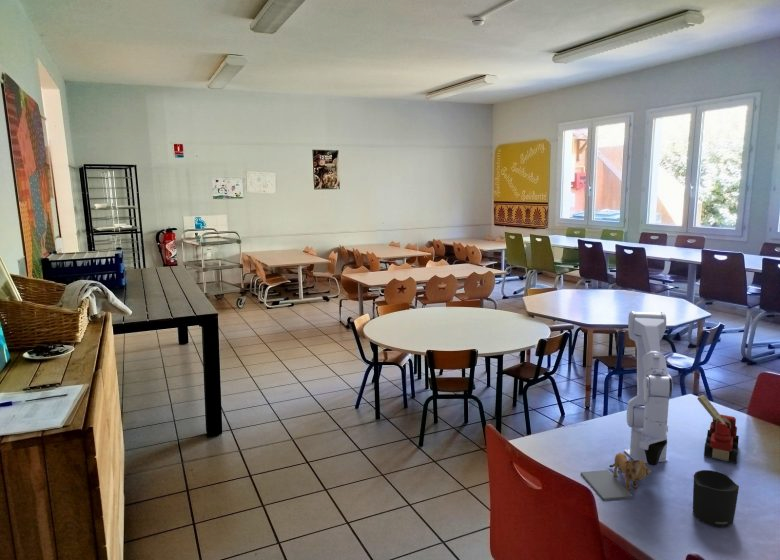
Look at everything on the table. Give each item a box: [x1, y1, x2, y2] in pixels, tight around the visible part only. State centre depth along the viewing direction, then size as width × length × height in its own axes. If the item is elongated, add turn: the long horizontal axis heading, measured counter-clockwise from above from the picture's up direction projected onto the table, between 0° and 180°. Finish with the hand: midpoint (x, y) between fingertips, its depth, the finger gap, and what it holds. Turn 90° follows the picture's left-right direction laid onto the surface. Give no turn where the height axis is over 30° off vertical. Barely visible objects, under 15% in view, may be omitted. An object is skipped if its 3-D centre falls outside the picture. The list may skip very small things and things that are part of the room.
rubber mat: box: [580, 469, 633, 501], centre depth 147 cm, size 8×13×1 cm, turn 7°
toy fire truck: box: [696, 394, 739, 464], centre depth 163 cm, size 11×16×18 cm
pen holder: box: [692, 469, 740, 528], centre depth 132 cm, size 9×9×10 cm
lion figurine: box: [608, 452, 652, 491], centre depth 148 cm, size 15×5×9 cm, turn 14°
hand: (652, 464), depth 148 cm, fingers closed
